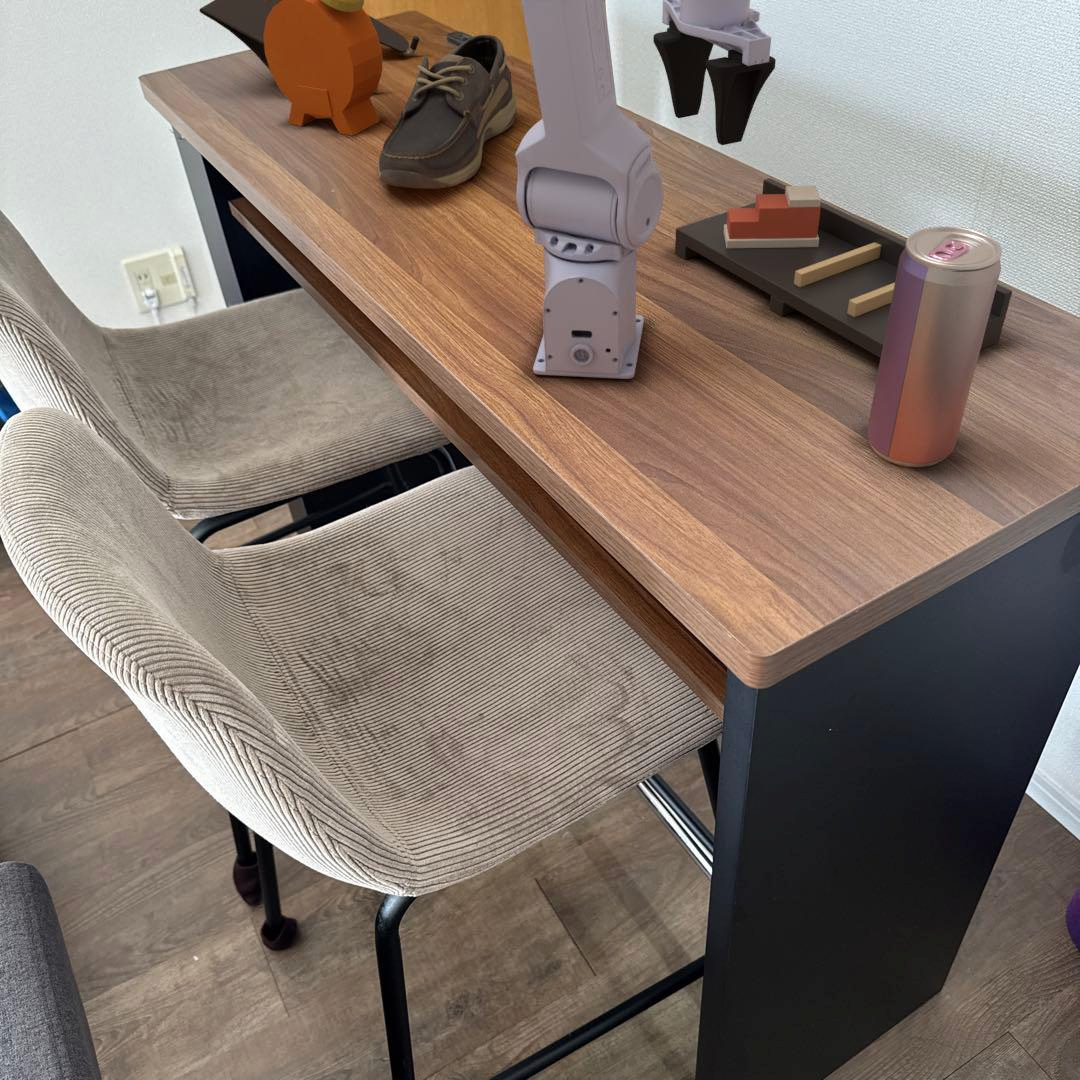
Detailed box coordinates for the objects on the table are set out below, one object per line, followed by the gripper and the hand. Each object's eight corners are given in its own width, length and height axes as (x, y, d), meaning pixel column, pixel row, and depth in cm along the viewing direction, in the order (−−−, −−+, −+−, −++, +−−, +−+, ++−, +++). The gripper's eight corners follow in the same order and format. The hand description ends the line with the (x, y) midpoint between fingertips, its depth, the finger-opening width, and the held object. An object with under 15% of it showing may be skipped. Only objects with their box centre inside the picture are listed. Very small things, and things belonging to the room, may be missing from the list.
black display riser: (998, 342, 84) (1013, 290, 81) (899, 385, 80) (910, 333, 77) (765, 223, 103) (769, 177, 100) (674, 253, 99) (676, 207, 96)
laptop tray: (351, 147, 139) (371, 83, 133) (189, 61, 137) (202, -9, 130) (407, 89, 156) (427, 30, 150) (264, 11, 153) (279, -52, 147)
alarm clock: (393, 121, 129) (369, -64, 116) (362, 138, 125) (333, -52, 112) (309, 106, 135) (277, -72, 122) (277, 122, 131) (240, -61, 118)
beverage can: (848, 447, 75) (884, 248, 65) (894, 412, 78) (934, 216, 68) (925, 482, 71) (974, 277, 61) (969, 443, 74) (1023, 242, 64)
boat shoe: (355, 203, 111) (338, 98, 104) (441, 108, 132) (431, 15, 125) (455, 209, 108) (444, 102, 101) (525, 111, 130) (520, 17, 123)
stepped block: (813, 230, 95) (819, 184, 93) (818, 247, 93) (824, 200, 90) (723, 232, 96) (726, 186, 93) (726, 249, 93) (729, 202, 91)
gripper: (811, -30, 82) (791, 146, 90) (715, -64, 92) (706, 97, 101) (731, -17, 80) (719, 161, 89) (642, -54, 90) (639, 110, 99)
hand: (707, 128), depth 95 cm, fingers open, 7 cm apart
